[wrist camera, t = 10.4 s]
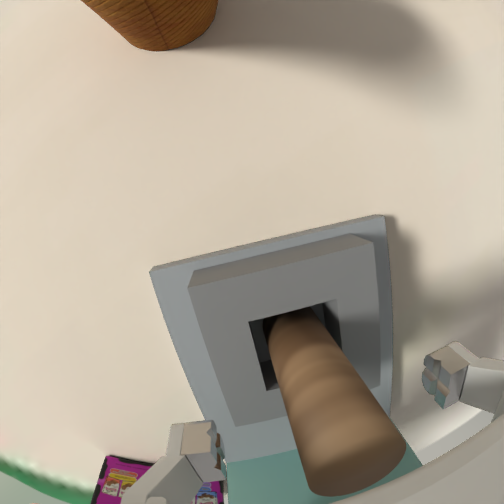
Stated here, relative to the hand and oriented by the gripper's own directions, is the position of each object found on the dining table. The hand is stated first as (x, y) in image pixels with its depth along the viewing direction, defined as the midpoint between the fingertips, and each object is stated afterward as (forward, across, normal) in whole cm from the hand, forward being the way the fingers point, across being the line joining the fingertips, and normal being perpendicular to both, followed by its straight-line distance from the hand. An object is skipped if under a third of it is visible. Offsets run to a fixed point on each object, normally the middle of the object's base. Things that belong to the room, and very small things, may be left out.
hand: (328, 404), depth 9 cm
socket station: (+9, 0, +5) cm, 10 cm away
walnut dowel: (+8, 0, +1) cm, 8 cm away
